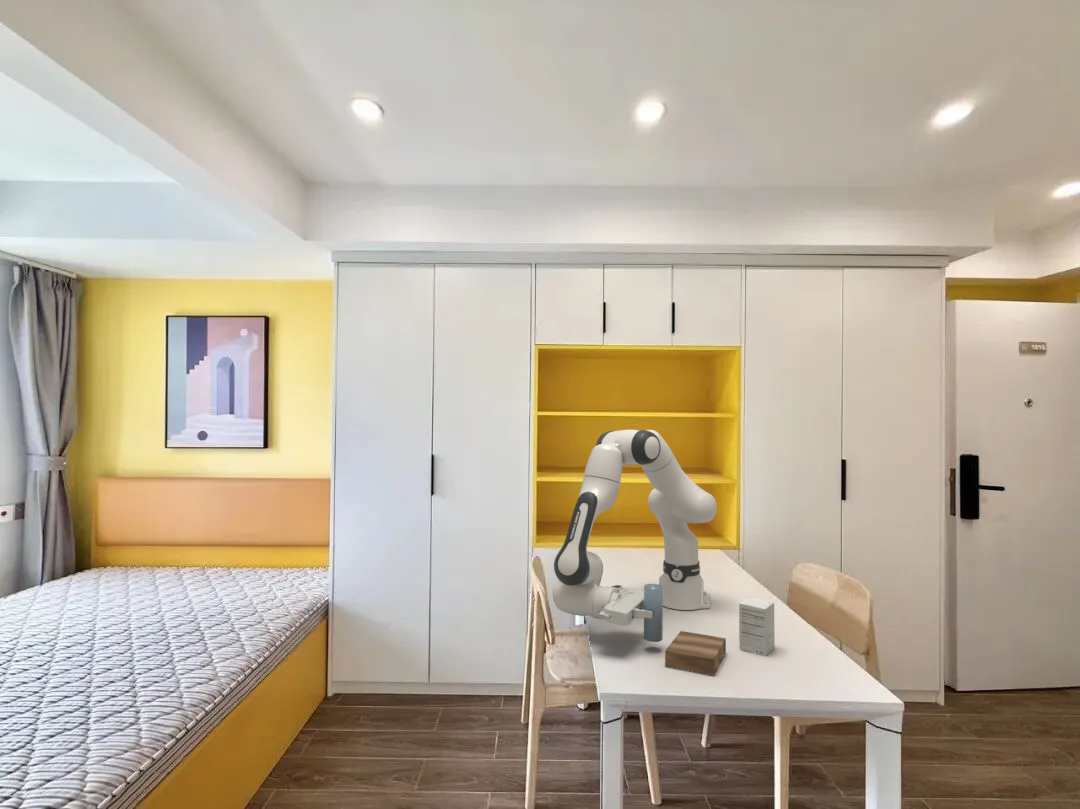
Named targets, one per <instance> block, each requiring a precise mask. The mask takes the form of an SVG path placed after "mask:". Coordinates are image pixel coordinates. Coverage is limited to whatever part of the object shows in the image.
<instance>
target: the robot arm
mask: <svg viewBox="0 0 1080 809" xmlns="http://www.w3.org/2000/svg"><path fill="white" fill-rule="evenodd" d="M595 443H596V444H595V446H594V447H593V448H592V450H591V452H590V454H589V458H588V459H587V463H586V466H585V470H584V474H583V478H582V479H583V480H582V482H581V486H580V491H579V495H578V498H577V500H576V502H575V506H574V508H573V512H572V515H571V518H570V523H569V527H568V530H567V533H566V536H565V540H564V542H563V544H562V547H561V548H560V549H559V551H558V552H557V554H556V555H555V558H554V563H553V570H554V574H555V576H556V578H557V580H558V582H556V583H555V585H554V586H553V590H552V600H553V603H554V605H555V607H556V608H557V609H558V610H559V611H560V612H563V613H566V614H569V615H570V614H571V615H574V616H579V617H585V616H586V617H587V616H588V617H590V618H591V617H592V618H593V619H597V620H604V621H605V622H607V623H612V624H615V625H619V626H629V625H630V624H631V623H632V622H633V621H634V620H635V619H644V618H652V617H653V615H654V614H653V613H654V612H653V610H648V609H647V610H644V590H642V589H641V590H640V589H636V588H630V587H624V586H623V585H621V584H616V585H612V586H602V585H600V584H601V582H602V577H603V573H604V564H603V561H602V559H601V558H600V557H599V555H597V554H596V553H594V552H592V551H588V544H589V541H590V539H591V538H590V537H591V533H592V529H593V526H594V523H595V520H596V519H597V517H598V516H599V515H601V513H603V512H605V511H606V510H609V509H611V508H612V506H614V504H615V503H616V499H617V498H618V495H619V492H620V491H619V490H620V486H621V480H622V474H623V473H622V470H623V467H624V466H633V465H635V466H636V465H640V466H641V469H642V470H643V472H644V474H645V476H646V477H647V479H648V481H649V483H650V485H651V486H652V487H653V489H652V490H651V491H650V493H649V495H648V499H647V504H648V505H647V506H648V508H649V511H650V512H651V513H652V514H653V515H654V516H655V518H656V519H657V521H658V524H659V526H660V529H661V532H662V536H663V545H664V560H663V562H662V571H663V573H662V574H661V575H660V576H659V577H658V585H661V586H663V607H665V608H668V609H673V610H679V611H695V610H702V609H710V608H711V594H710V593H708V592H707V591H704V579H703V578H702V575H701V566H700V560H699V542H698V541H699V540H698V538H697V536H696V535H695V534H694V533H693V532H692V531H691V529H690V528H689V526H688V523H692V524H704V523H709V522H711V521H712V520H713V519H714V518H715V516H716V513H717V510H718V509H717V508H718V507H717V506H718V505H717V501H716V499H715V497H714V496H713V495H712V494H711V493H709V492H707V491H705V490H704V489H703V488H702V487H699V485H698V484H696V483H695V481H693V480H692V479H691V478H690V476H688V475H687V474H686V473H685V471H684V470H683V469H682V467H681V465H680V463H679V462H678V461H677V458H676V457H675V455H674V453H673V450H672V449H671V448H670V446H669V445H668V443H667V441H666V440H665V438H663V436H662V435H660V433H659V432H658V431H656V430H654V429H641V430H639V429H638V430H637V429H622V430H609V431H605V432H604V433H601V435H600V436H599V437H598V439H597V441H596V442H595Z"/></svg>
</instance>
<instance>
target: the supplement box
mask: <svg viewBox="0 0 1080 809" xmlns="http://www.w3.org/2000/svg"><path fill="white" fill-rule="evenodd" d="M738 606H739V607H738V608H739V609H738V613H739V615H738V616H739V619H738V623H739V627H738V631H739V632H738V633H739V637H738V638H739V639H738V640H739V641H738V642H739V650H740V649H741V650H740V651H743V650H745V651H744V652H747V651H749V652H748V653H751V652H753V653H752V654H754V653H756V654H755V655H758V654H760V655H759V656H763V655H764V657H766V656H768V655H769V654H770V653H771V652H772V651H773V650H774V649H776V648H775V642H776V641H775V602H773V601H770V600H765V599H759V598H758V599H757V598H753V597H747V598H746V599H744V600H742V601H741V602H739V604H738Z"/></svg>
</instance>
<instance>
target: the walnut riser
mask: <svg viewBox="0 0 1080 809" xmlns="http://www.w3.org/2000/svg"><path fill="white" fill-rule="evenodd" d="M726 640H727V638H726V637H720V636H715V635H708V634H702V633H697V632H691V631H690V632H689V631H684V630H680V631H679V632H678V634H677V635H676V636H675V637H674V638H673V640H672V641H671V642H670V644H669V645H668V646H667V647H666V649H665V650H664V652H665V653H664V654H665V656H664V665H665V666H666V668H670V667H673V668H672V669H675V668H678V669H677V670H680V669H683V670H682V671H685V670H689V671H688V672H690V671H693V672H692V673H696V672H699V673H698V674H701V673H703V674H702V675H706V674H708V676H711V675H713V677H714V676H715V674H716V673H717V671H718V669H719V667H720V665H721V663H722V662H723V660H722V659H724V658H725V656H724V655H726V654H725V653H727V652H726V651H727V650H726V649H727V646H726V643H727V642H726ZM723 657H724V658H723Z"/></svg>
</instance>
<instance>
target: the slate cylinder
mask: <svg viewBox="0 0 1080 809" xmlns="http://www.w3.org/2000/svg"><path fill="white" fill-rule="evenodd" d="M643 591H644V610H647V609H648V610H653V612H654V613H653V614H654V615H653V617H652V618H643V639H644V640H646V641H647V642H652V643H659V642H661V641H663V634H664V633H663V631H664V628H663V626H664V625H663V624H664V623H663V622H664V621H663V620H664V617H663V616H664V615H663V614H664V606H663V586H661V585H659V583H658V584H657V583H645V584H644V586H643Z"/></svg>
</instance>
